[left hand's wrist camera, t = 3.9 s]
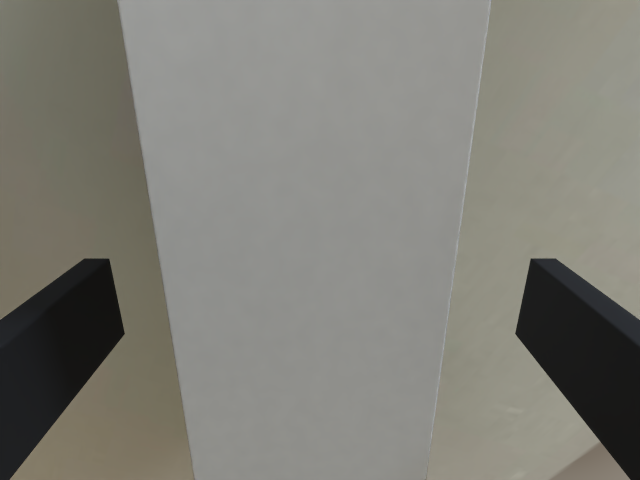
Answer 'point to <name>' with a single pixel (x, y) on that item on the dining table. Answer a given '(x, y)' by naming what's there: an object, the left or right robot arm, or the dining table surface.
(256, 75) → the box
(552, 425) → the dining table surface
